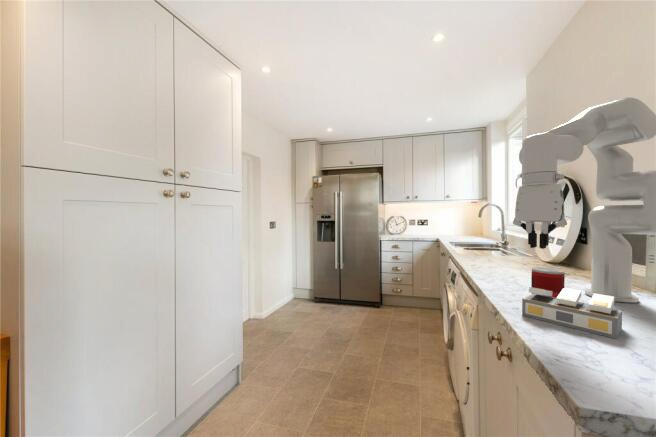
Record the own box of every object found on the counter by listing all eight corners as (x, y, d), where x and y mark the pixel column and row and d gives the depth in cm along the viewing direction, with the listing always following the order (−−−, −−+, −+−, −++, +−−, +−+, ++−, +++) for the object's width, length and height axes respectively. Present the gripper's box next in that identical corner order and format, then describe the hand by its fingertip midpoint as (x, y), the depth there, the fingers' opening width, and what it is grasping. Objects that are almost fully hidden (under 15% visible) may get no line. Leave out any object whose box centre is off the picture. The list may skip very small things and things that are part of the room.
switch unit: (532, 308, 80) (532, 292, 80) (621, 328, 65) (622, 309, 65) (521, 315, 74) (521, 298, 74) (616, 339, 60) (617, 318, 60)
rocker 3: (594, 298, 69) (593, 292, 68) (614, 301, 66) (614, 296, 65) (588, 309, 64) (588, 303, 64) (610, 313, 62) (610, 307, 61)
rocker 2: (563, 292, 73) (563, 287, 73) (581, 296, 70) (581, 290, 70) (556, 302, 69) (556, 297, 69) (575, 306, 66) (575, 301, 66)
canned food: (570, 309, 79) (570, 272, 79) (539, 307, 81) (540, 271, 81) (554, 301, 87) (554, 267, 86) (526, 299, 88) (526, 266, 88)
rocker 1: (536, 293, 78) (536, 288, 78) (552, 296, 75) (552, 290, 75) (528, 292, 74) (529, 286, 74) (545, 295, 71) (545, 289, 71)
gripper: (580, 178, 69) (579, 249, 69) (511, 184, 81) (510, 244, 81) (574, 175, 64) (573, 252, 64) (501, 182, 76) (500, 246, 77)
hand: (538, 247), depth 73 cm, fingers closed
